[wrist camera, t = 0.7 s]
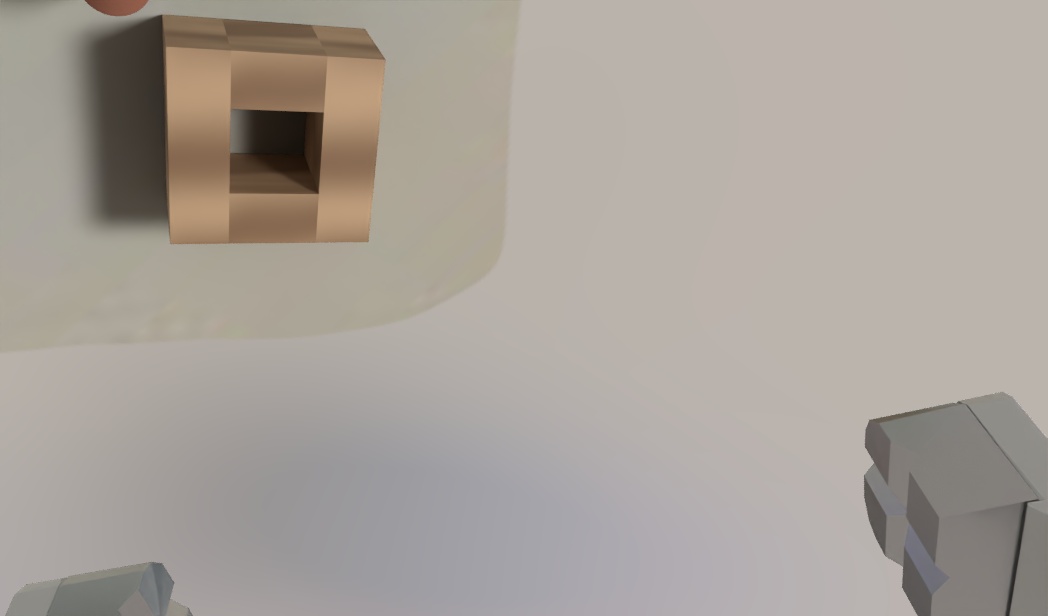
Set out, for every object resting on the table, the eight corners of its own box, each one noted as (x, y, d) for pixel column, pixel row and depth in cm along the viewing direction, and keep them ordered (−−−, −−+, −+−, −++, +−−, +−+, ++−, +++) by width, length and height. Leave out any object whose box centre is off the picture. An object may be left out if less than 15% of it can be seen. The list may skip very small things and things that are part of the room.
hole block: (162, 14, 47) (166, 46, 43) (365, 29, 51) (385, 59, 47) (166, 200, 52) (170, 243, 48) (350, 201, 56) (368, 241, 52)
